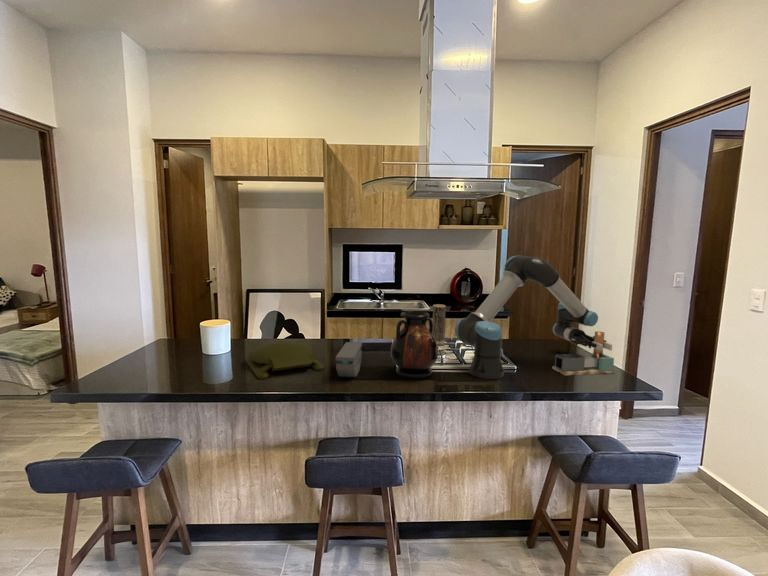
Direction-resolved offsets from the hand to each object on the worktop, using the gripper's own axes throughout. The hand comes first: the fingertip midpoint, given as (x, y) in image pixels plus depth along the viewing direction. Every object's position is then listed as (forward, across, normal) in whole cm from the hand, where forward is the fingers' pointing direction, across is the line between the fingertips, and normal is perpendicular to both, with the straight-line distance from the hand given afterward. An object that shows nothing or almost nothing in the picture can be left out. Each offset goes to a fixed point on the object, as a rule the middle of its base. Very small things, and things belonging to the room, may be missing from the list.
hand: (606, 347), depth 189 cm
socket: (-5, -2, -11) cm, 13 cm away
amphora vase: (-12, +88, -13) cm, 90 cm away
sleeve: (-5, +15, -11) cm, 19 cm away
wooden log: (-49, +65, -13) cm, 83 cm away
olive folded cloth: (-34, +148, -13) cm, 152 cm away
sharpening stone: (-17, +117, -13) cm, 119 cm away
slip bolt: (-5, +5, -10) cm, 13 cm away
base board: (-5, +8, -12) cm, 16 cm away
